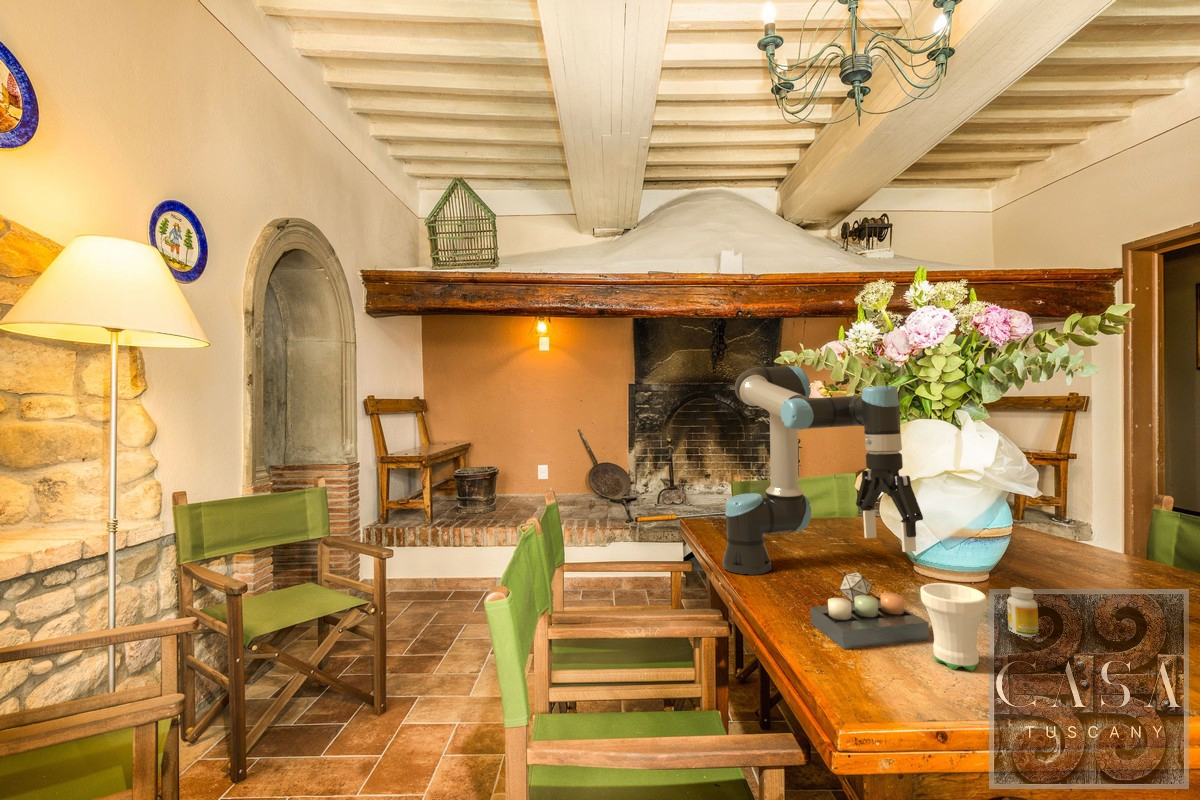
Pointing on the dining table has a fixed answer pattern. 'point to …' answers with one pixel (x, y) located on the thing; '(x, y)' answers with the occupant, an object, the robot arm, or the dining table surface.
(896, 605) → the terracotta button
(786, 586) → the dining table surface
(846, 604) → the ivory button
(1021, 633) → the supplement bottle
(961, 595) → the cup
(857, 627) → the panel
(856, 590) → the game die
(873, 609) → the sage button
